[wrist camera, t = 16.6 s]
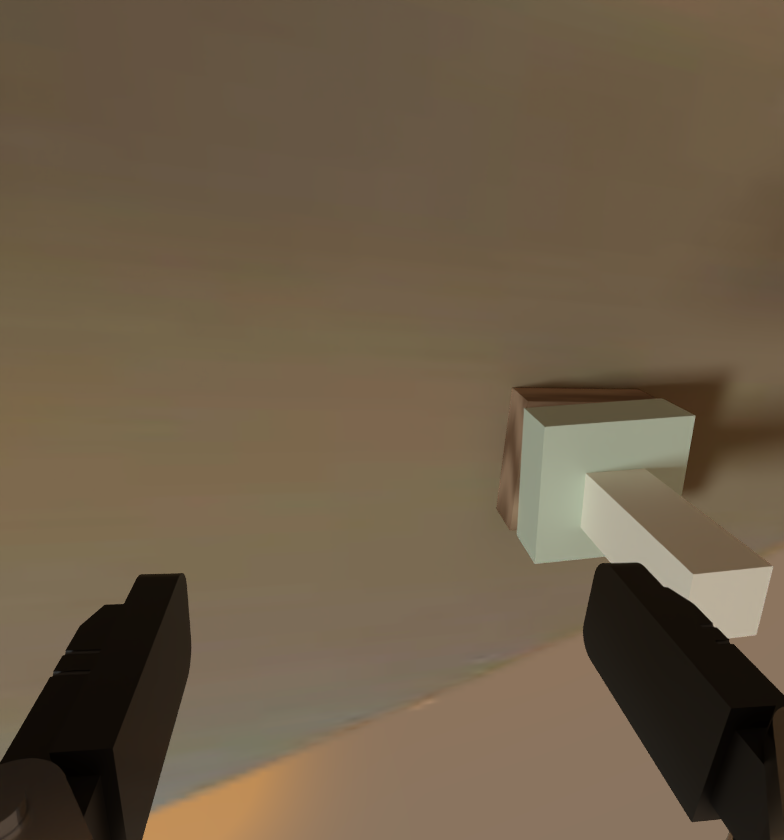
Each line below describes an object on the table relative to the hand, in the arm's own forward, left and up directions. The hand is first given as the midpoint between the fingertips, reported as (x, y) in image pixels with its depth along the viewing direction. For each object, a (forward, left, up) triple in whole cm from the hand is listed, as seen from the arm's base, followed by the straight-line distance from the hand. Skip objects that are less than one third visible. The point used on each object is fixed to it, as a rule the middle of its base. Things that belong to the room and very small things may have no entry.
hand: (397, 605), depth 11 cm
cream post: (+11, +20, -24) cm, 33 cm away
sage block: (+10, +20, -28) cm, 36 cm away
